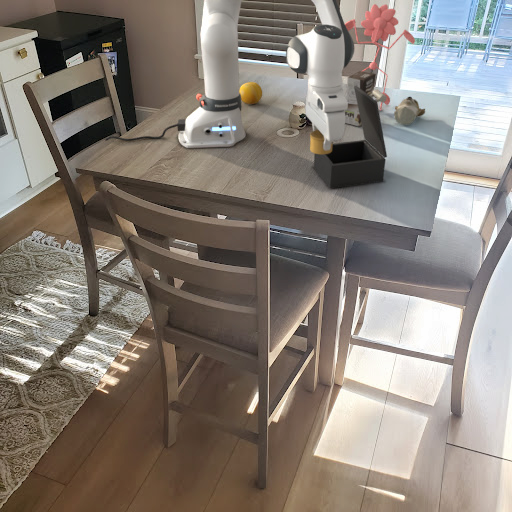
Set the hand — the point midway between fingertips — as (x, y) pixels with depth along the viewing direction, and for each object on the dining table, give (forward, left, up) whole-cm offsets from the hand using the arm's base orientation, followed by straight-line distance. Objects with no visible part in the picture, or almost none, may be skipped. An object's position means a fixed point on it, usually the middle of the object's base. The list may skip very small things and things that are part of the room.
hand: (321, 144), depth 151 cm
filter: (0, 0, -2) cm, 2 cm away
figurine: (+41, +57, -12) cm, 71 cm away
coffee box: (+29, +42, -12) cm, 52 cm away
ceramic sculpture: (+46, +38, -12) cm, 61 cm away
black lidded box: (+10, +4, -12) cm, 16 cm away
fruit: (-3, +70, -12) cm, 71 cm away
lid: (+15, +4, +3) cm, 16 cm away
